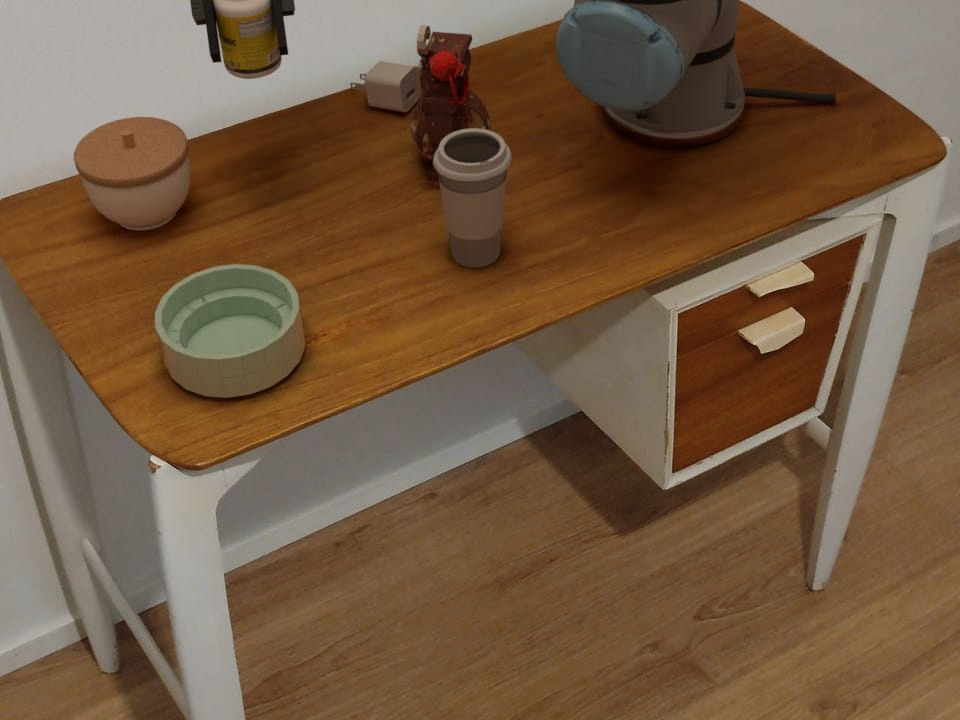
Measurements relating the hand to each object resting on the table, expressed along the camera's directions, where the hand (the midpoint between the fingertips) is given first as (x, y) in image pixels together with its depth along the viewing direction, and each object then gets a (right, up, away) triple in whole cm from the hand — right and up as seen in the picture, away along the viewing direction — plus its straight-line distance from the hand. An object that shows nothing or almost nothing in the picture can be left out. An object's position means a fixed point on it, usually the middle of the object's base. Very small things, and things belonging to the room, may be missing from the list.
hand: (249, 54), depth 118 cm
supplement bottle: (-1, 0, +5) cm, 5 cm away
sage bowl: (-1, -27, -3) cm, 27 cm away
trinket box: (-12, -13, +12) cm, 22 cm away
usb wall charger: (+10, +4, +23) cm, 25 cm away
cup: (+20, -18, +6) cm, 28 cm away
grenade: (+18, -7, +17) cm, 26 cm away
